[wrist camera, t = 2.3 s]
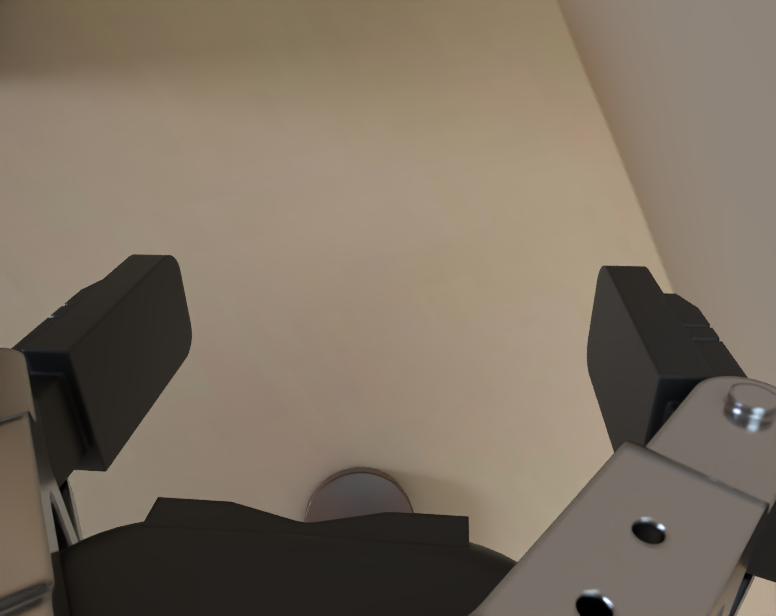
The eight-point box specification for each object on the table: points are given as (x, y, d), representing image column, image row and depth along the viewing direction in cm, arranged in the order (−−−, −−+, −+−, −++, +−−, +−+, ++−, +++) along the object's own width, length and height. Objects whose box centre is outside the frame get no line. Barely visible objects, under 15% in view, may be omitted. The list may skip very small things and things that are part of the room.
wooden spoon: (102, 761, 33) (93, 777, 32) (41, 666, 33) (29, 678, 32) (433, 536, 35) (436, 543, 33) (375, 446, 35) (376, 450, 33)
